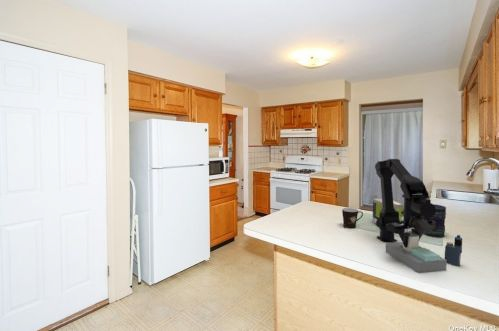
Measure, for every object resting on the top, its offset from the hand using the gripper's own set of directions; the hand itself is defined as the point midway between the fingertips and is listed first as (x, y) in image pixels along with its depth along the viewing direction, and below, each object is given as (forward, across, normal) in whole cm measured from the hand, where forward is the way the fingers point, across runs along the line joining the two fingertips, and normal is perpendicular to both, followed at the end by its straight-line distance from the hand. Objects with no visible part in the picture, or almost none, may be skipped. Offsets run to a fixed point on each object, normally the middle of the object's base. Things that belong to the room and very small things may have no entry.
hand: (410, 246), depth 105 cm
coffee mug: (+5, -2, +40) cm, 41 cm away
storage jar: (+5, +32, +22) cm, 39 cm away
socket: (+5, 0, -2) cm, 5 cm away
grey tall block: (+3, 0, 0) cm, 3 cm away
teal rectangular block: (+1, 0, -7) cm, 8 cm away
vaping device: (+5, +13, -7) cm, 16 cm away
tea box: (+5, +17, +38) cm, 42 cm away
